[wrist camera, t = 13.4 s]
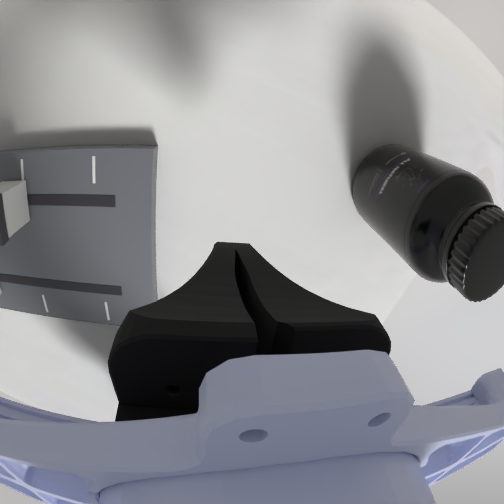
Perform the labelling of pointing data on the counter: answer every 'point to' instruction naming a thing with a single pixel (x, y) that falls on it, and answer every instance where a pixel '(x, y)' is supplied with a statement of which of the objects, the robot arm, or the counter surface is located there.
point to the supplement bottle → (434, 218)
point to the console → (82, 232)
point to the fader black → (12, 208)
